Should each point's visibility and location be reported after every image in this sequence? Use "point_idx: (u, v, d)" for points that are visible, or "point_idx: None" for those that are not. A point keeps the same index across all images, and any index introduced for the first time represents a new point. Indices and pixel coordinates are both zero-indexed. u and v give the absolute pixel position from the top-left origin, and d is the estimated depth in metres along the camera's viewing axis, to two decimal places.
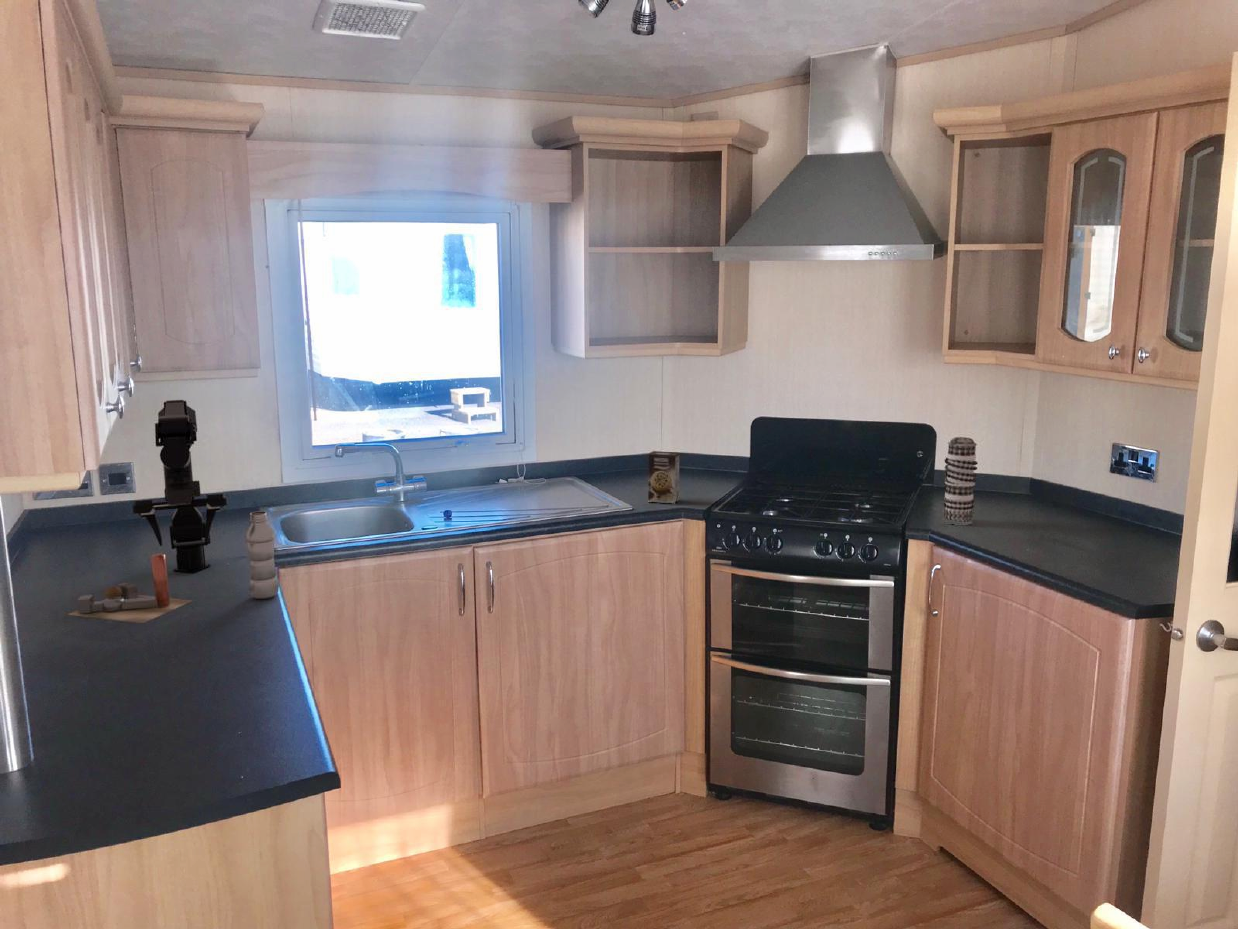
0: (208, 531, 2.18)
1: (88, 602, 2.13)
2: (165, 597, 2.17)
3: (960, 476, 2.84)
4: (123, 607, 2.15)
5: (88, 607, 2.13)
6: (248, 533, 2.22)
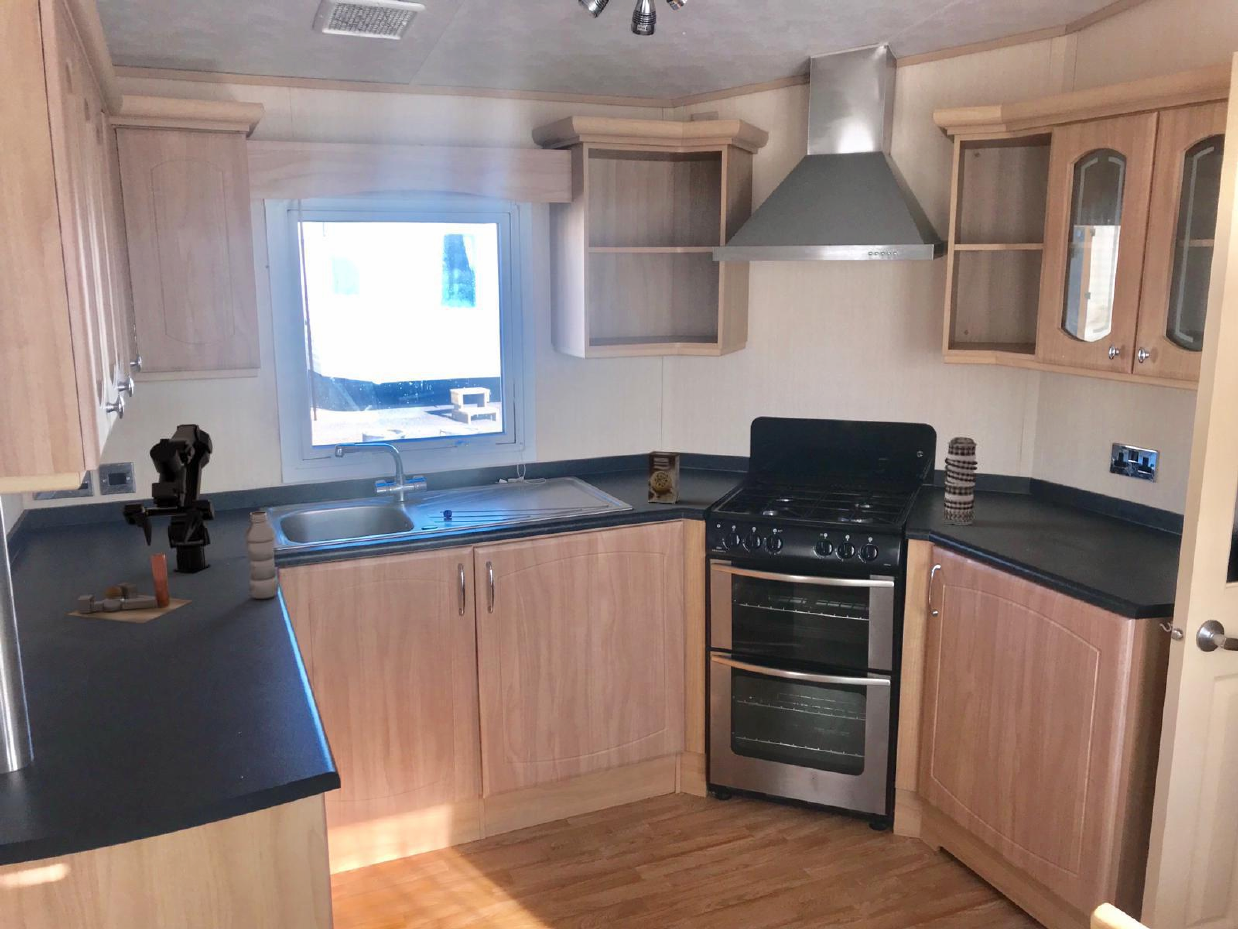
0: (186, 532, 2.25)
1: (88, 602, 2.13)
2: (165, 597, 2.17)
3: (960, 476, 2.84)
4: (123, 607, 2.15)
5: (88, 607, 2.13)
6: (248, 533, 2.22)
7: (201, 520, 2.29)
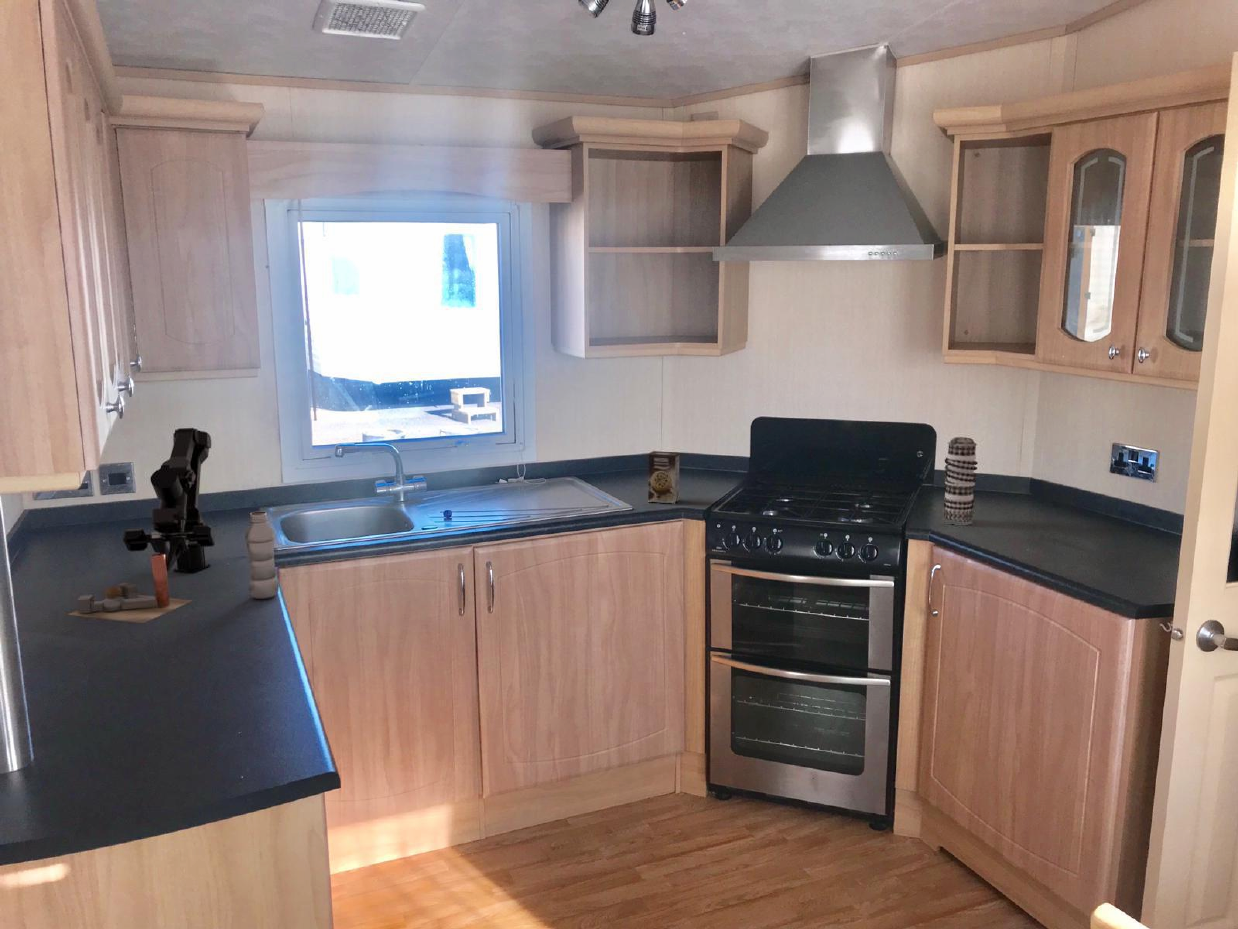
0: (170, 560, 2.23)
1: (88, 602, 2.13)
2: (165, 597, 2.17)
3: (960, 476, 2.84)
4: (123, 607, 2.15)
5: (88, 607, 2.13)
6: (248, 533, 2.22)
7: (185, 547, 2.28)
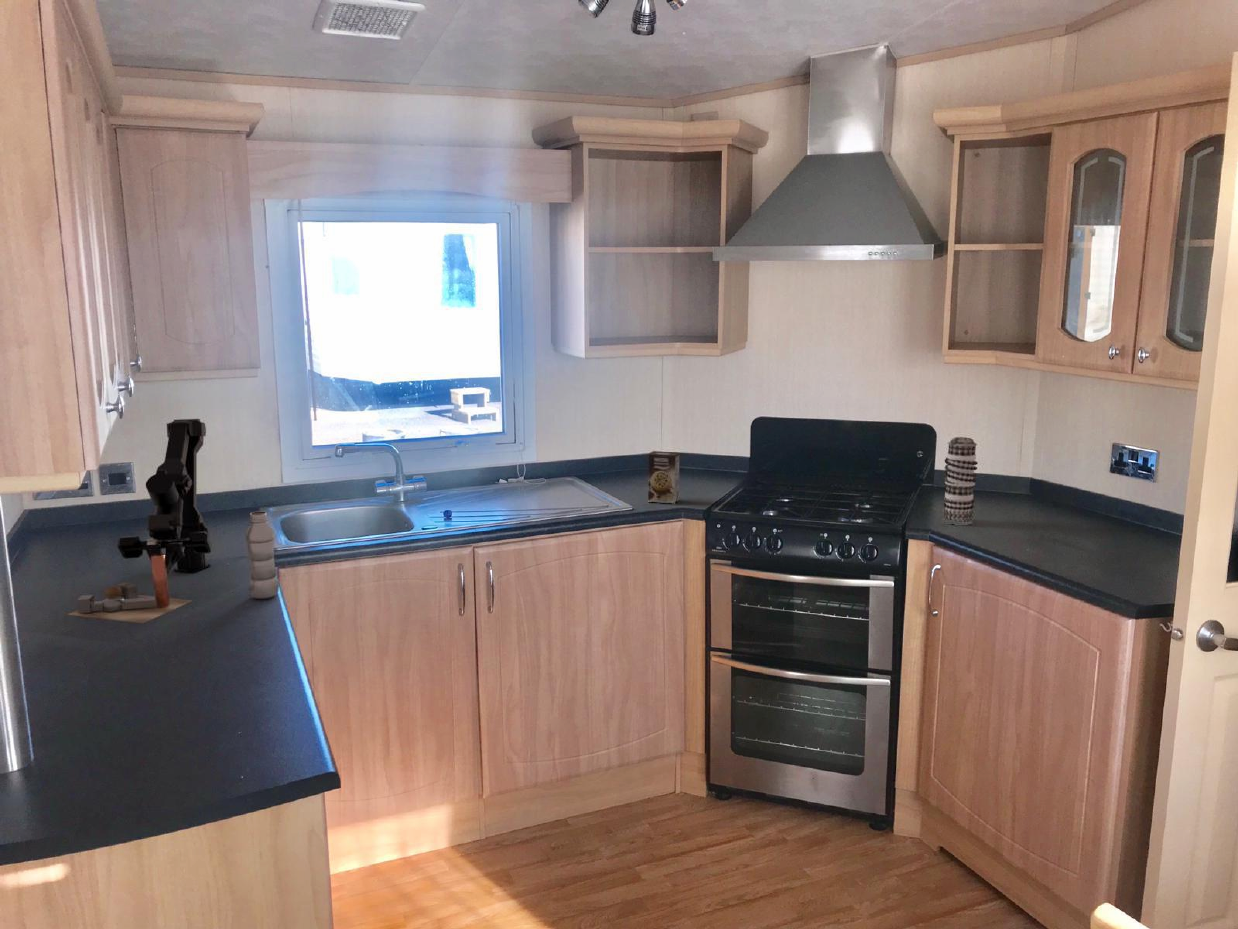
0: None
1: (88, 602, 2.13)
2: (165, 598, 2.16)
3: (960, 476, 2.84)
4: (123, 607, 2.15)
5: (88, 607, 2.13)
6: (248, 533, 2.22)
7: (181, 554, 2.24)
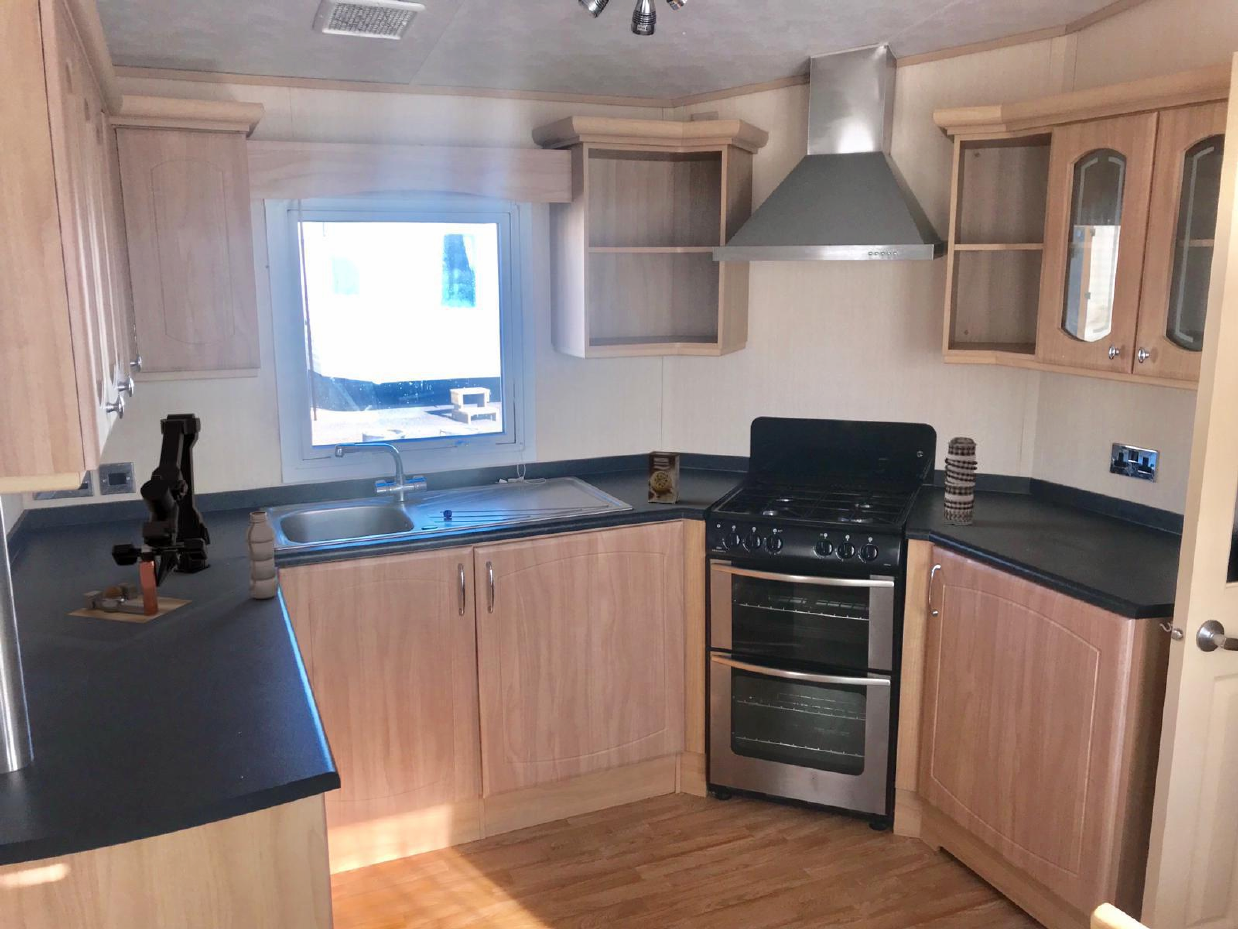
0: (160, 575, 2.14)
1: (91, 598, 2.15)
2: (150, 606, 2.11)
3: (960, 476, 2.84)
4: (118, 609, 2.14)
5: (91, 603, 2.15)
6: (248, 533, 2.22)
7: (177, 561, 2.19)
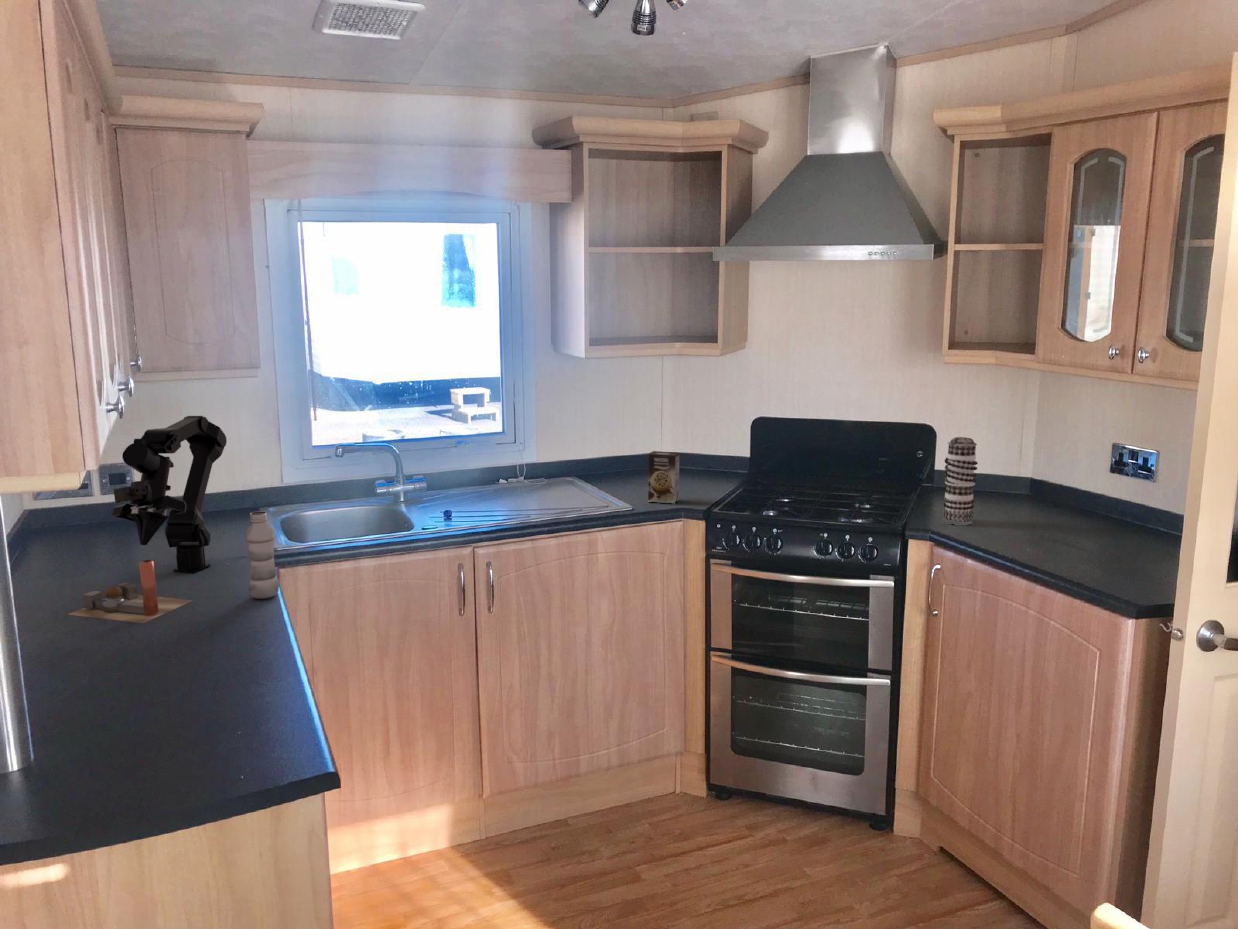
0: (143, 534, 2.25)
1: (91, 598, 2.15)
2: (150, 606, 2.11)
3: (960, 476, 2.84)
4: (118, 609, 2.14)
5: (91, 603, 2.15)
6: (248, 533, 2.22)
7: (162, 517, 2.27)
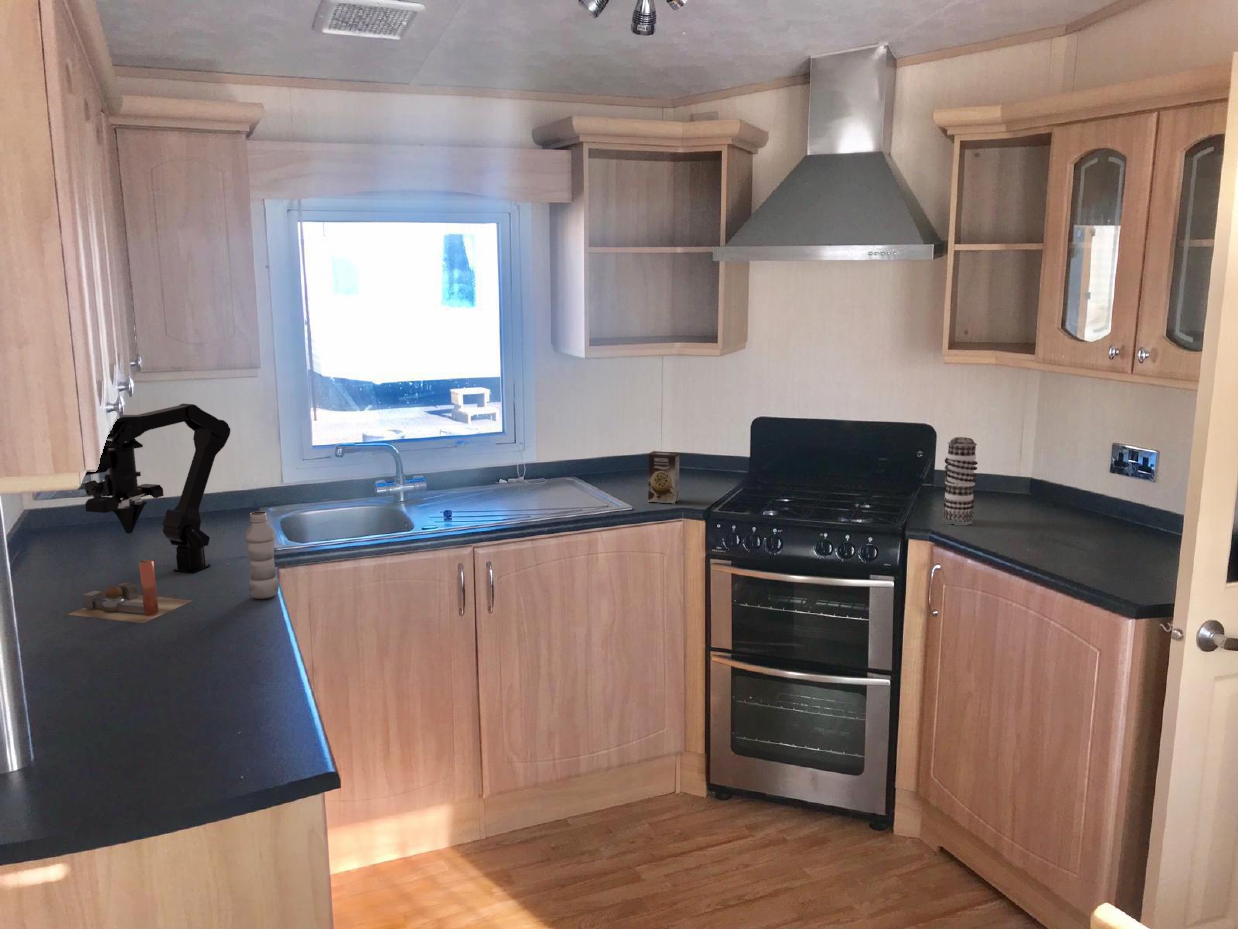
0: None
1: (91, 598, 2.15)
2: (150, 606, 2.11)
3: (960, 476, 2.84)
4: (118, 609, 2.14)
5: (91, 603, 2.15)
6: (248, 533, 2.22)
7: None
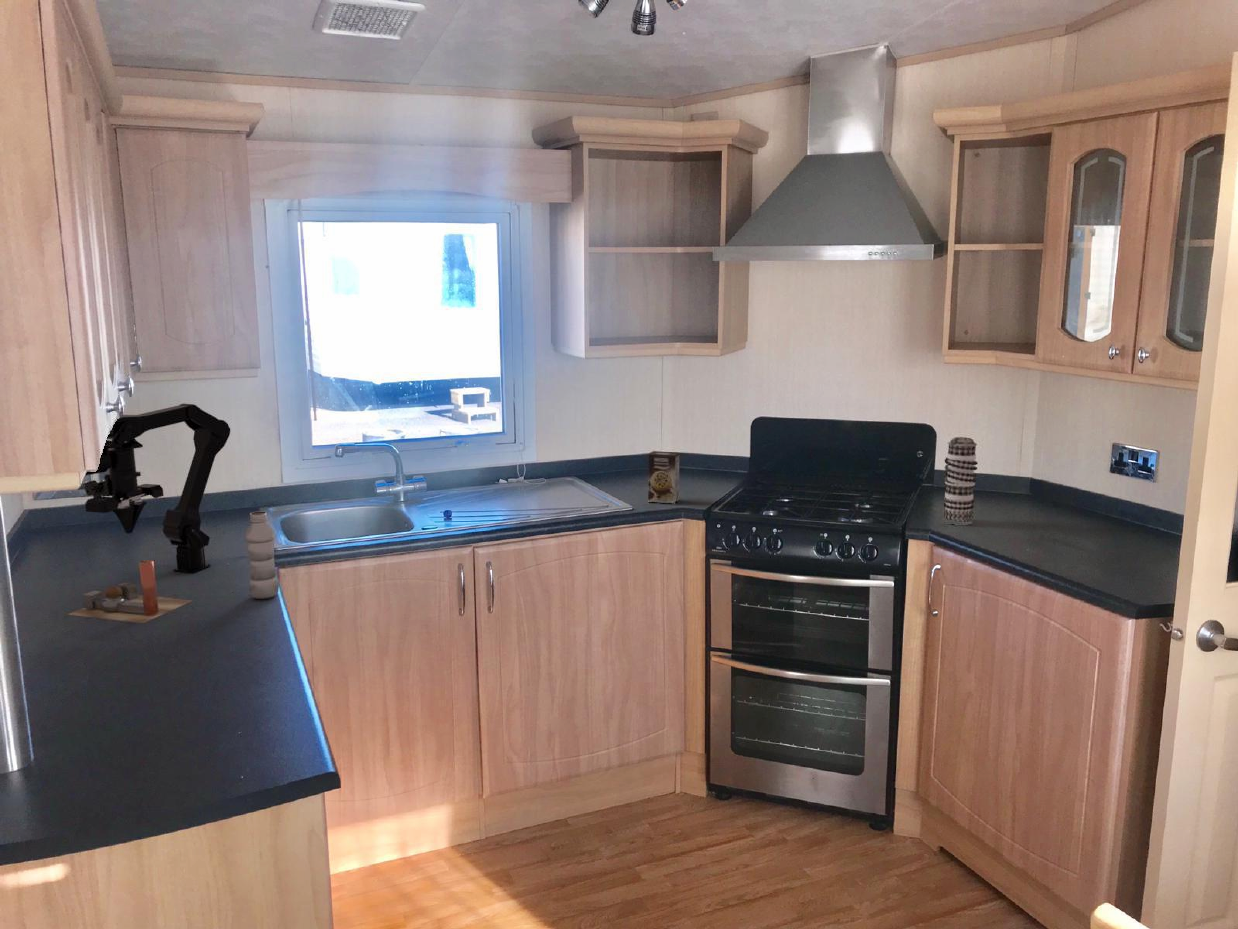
0: None
1: (91, 598, 2.15)
2: (150, 606, 2.11)
3: (960, 476, 2.84)
4: (118, 609, 2.14)
5: (91, 603, 2.15)
6: (248, 533, 2.22)
7: None
